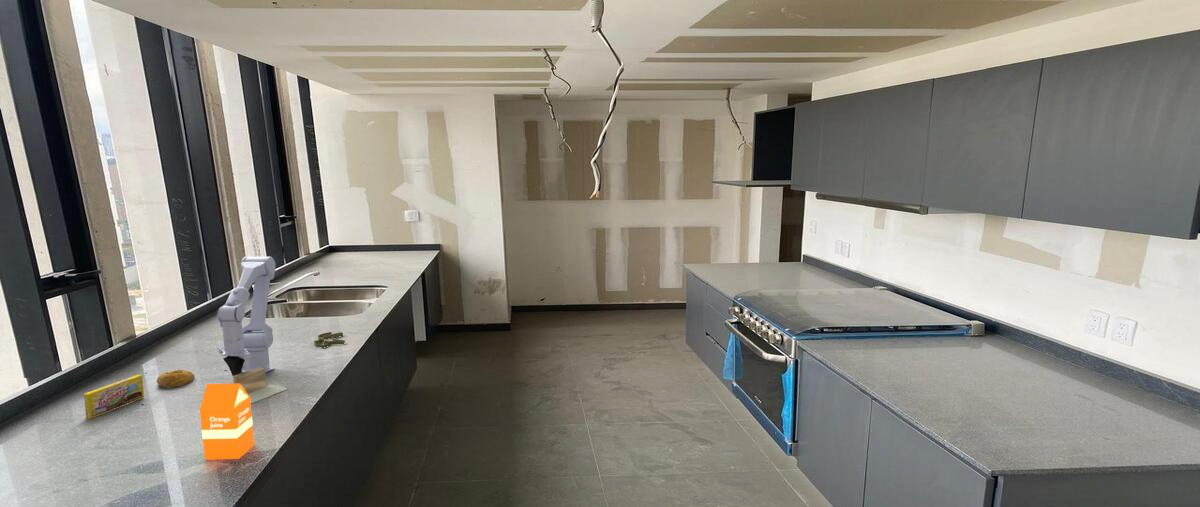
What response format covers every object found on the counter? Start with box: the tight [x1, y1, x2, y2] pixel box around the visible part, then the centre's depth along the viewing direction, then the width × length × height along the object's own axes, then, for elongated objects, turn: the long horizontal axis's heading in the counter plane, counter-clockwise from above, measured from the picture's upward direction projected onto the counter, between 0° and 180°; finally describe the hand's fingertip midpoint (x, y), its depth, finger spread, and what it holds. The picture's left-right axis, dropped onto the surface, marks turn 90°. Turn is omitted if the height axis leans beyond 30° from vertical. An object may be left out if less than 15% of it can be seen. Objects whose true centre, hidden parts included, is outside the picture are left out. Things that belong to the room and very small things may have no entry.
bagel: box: [156, 369, 195, 389], centre depth 191 cm, size 10×11×5 cm
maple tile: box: [232, 367, 267, 394], centre depth 186 cm, size 3×9×7 cm, turn 156°
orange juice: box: [199, 383, 255, 460], centre depth 146 cm, size 8×9×20 cm
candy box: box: [83, 374, 145, 419], centre depth 171 cm, size 16×2×8 cm, turn 168°
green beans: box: [313, 331, 346, 349], centre depth 239 cm, size 18×12×2 cm, turn 28°
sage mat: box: [248, 384, 288, 405], centre depth 184 cm, size 8×13×1 cm, turn 156°
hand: (236, 375), depth 188 cm, fingers closed
